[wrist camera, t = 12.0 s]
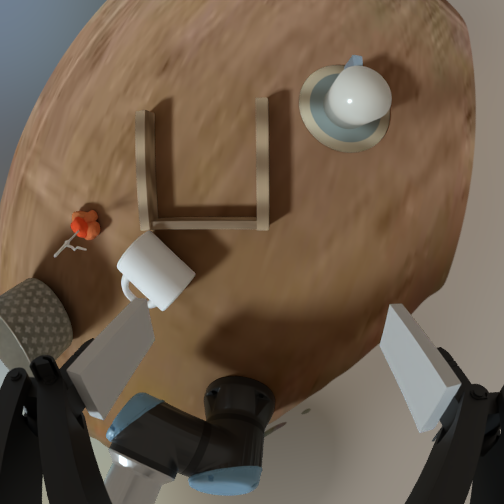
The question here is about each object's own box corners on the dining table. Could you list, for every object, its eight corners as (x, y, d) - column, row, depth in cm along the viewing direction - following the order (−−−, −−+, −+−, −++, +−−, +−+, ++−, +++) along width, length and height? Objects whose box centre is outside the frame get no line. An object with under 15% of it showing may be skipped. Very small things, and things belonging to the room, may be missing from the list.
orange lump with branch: (106, 253, 45) (66, 278, 33) (72, 225, 44) (30, 243, 32) (117, 226, 43) (74, 246, 31) (82, 198, 42) (36, 211, 30)
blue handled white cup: (323, 127, 35) (336, 116, 26) (321, 70, 32) (332, 47, 23) (369, 131, 34) (393, 124, 25) (366, 76, 31) (387, 56, 23)
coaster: (389, 156, 35) (390, 156, 35) (299, 149, 36) (300, 149, 36) (385, 73, 31) (386, 72, 30) (297, 62, 32) (297, 61, 32)
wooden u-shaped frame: (269, 224, 40) (268, 230, 37) (150, 225, 42) (140, 230, 39) (268, 103, 35) (267, 97, 31) (146, 115, 36) (135, 111, 33)
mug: (157, 225, 42) (134, 238, 34) (201, 267, 44) (186, 288, 36) (122, 271, 45) (99, 290, 38) (161, 309, 47) (143, 332, 39)
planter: (91, 326, 51) (45, 374, 33) (62, 350, 55) (25, 390, 38) (43, 258, 47) (-14, 290, 30) (21, 294, 52) (-22, 325, 34)
